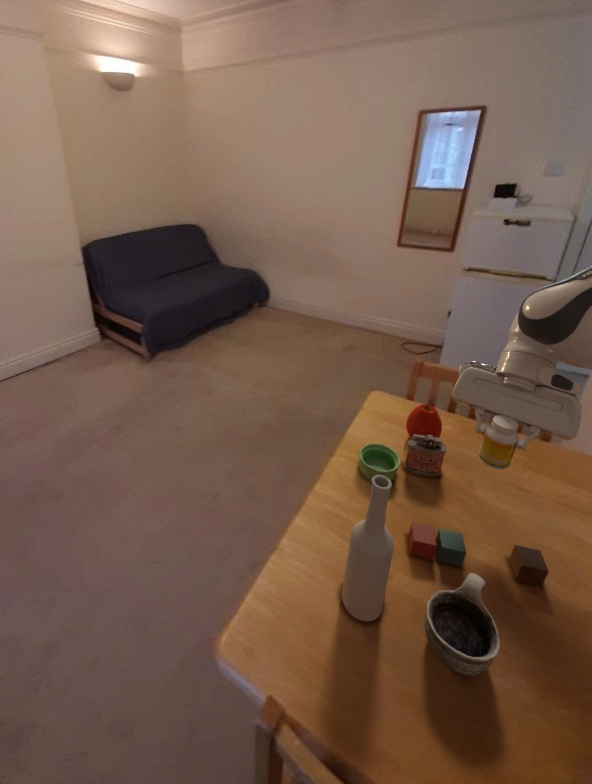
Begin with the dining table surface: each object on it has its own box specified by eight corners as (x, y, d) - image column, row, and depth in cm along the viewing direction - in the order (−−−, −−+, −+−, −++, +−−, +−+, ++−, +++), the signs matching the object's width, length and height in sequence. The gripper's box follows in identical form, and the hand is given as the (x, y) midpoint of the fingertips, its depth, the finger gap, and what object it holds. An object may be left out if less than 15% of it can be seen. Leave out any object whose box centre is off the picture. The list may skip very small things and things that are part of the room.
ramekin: (356, 481, 92) (358, 467, 91) (357, 453, 100) (359, 440, 98) (398, 489, 90) (401, 475, 88) (396, 460, 98) (398, 446, 96)
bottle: (377, 629, 65) (402, 508, 53) (337, 608, 68) (352, 489, 56) (385, 592, 70) (409, 473, 58) (347, 574, 73) (363, 458, 61)
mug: (413, 660, 61) (424, 621, 57) (427, 587, 71) (437, 550, 67) (487, 702, 57) (505, 664, 52) (491, 618, 66) (506, 580, 62)
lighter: (439, 467, 95) (447, 434, 91) (441, 478, 92) (450, 444, 88) (402, 461, 97) (408, 429, 93) (404, 472, 94) (410, 438, 90)
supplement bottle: (476, 447, 82) (487, 409, 78) (507, 454, 80) (519, 415, 76) (479, 466, 77) (490, 427, 73) (511, 474, 75) (525, 434, 71)
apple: (414, 424, 109) (420, 391, 105) (444, 440, 103) (452, 406, 99) (397, 438, 105) (403, 404, 100) (429, 455, 99) (436, 420, 94)
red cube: (430, 541, 79) (434, 527, 77) (433, 560, 75) (437, 545, 74) (408, 536, 80) (411, 522, 78) (410, 554, 76) (413, 540, 75)
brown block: (534, 564, 74) (540, 550, 72) (542, 586, 70) (549, 571, 69) (509, 558, 75) (514, 544, 73) (515, 579, 71) (521, 565, 70)
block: (457, 547, 77) (461, 533, 76) (461, 566, 74) (466, 552, 72) (434, 542, 78) (438, 528, 77) (437, 561, 75) (441, 547, 73)
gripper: (463, 353, 82) (439, 415, 80) (592, 388, 70) (569, 464, 67) (464, 362, 87) (442, 421, 85) (586, 397, 75) (564, 468, 72)
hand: (499, 441), depth 76 cm, fingers closed on supplement bottle, 5 cm apart
